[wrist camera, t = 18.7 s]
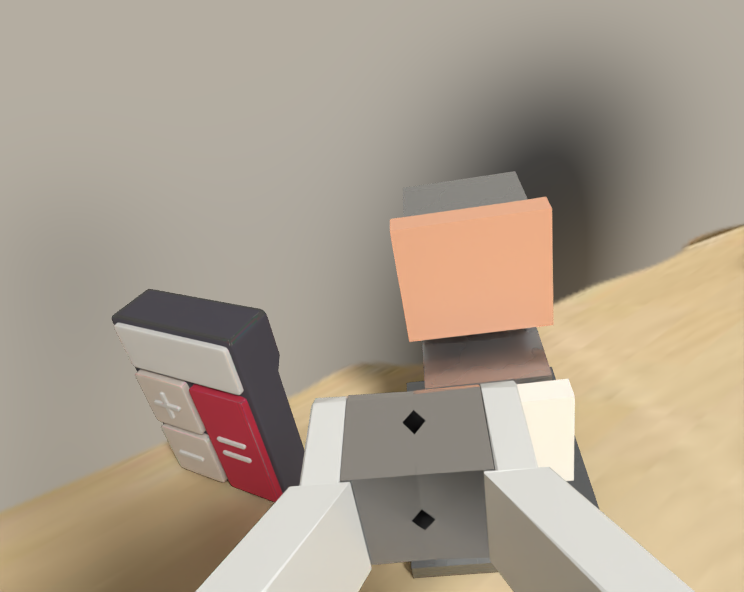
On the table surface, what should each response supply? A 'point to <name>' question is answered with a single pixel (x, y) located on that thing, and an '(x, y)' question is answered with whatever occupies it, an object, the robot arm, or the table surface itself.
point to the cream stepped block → (551, 423)
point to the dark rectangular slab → (214, 388)
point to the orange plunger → (475, 269)
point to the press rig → (480, 341)
